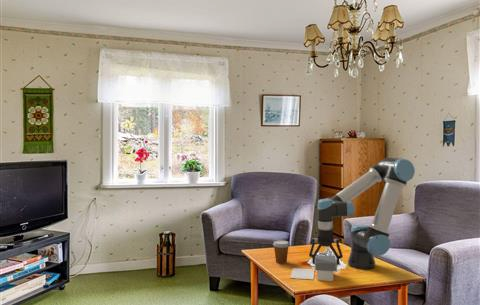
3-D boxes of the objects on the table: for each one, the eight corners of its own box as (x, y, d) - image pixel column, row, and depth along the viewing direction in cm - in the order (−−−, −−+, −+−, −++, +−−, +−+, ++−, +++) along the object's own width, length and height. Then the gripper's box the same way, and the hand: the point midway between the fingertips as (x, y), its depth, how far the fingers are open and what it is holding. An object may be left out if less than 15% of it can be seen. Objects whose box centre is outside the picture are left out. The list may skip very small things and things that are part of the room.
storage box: (333, 273, 220) (333, 261, 219) (333, 281, 209) (333, 267, 208) (317, 272, 221) (317, 260, 221) (317, 280, 210) (317, 266, 210)
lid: (335, 263, 220) (335, 256, 220) (335, 271, 207) (335, 263, 207) (316, 262, 222) (316, 255, 222) (315, 270, 210) (315, 262, 209)
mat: (314, 270, 226) (314, 269, 226) (313, 280, 210) (313, 279, 210) (293, 268, 229) (293, 268, 229) (290, 278, 213) (290, 277, 213)
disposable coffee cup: (287, 265, 235) (287, 244, 235) (271, 263, 238) (271, 243, 238) (291, 260, 244) (290, 240, 244) (275, 259, 247) (275, 239, 247)
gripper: (303, 229, 213) (303, 271, 214) (347, 231, 208) (348, 273, 209) (304, 226, 220) (304, 267, 221) (347, 227, 215) (347, 269, 216)
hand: (325, 270), depth 215 cm, fingers closed on lid, 10 cm apart
